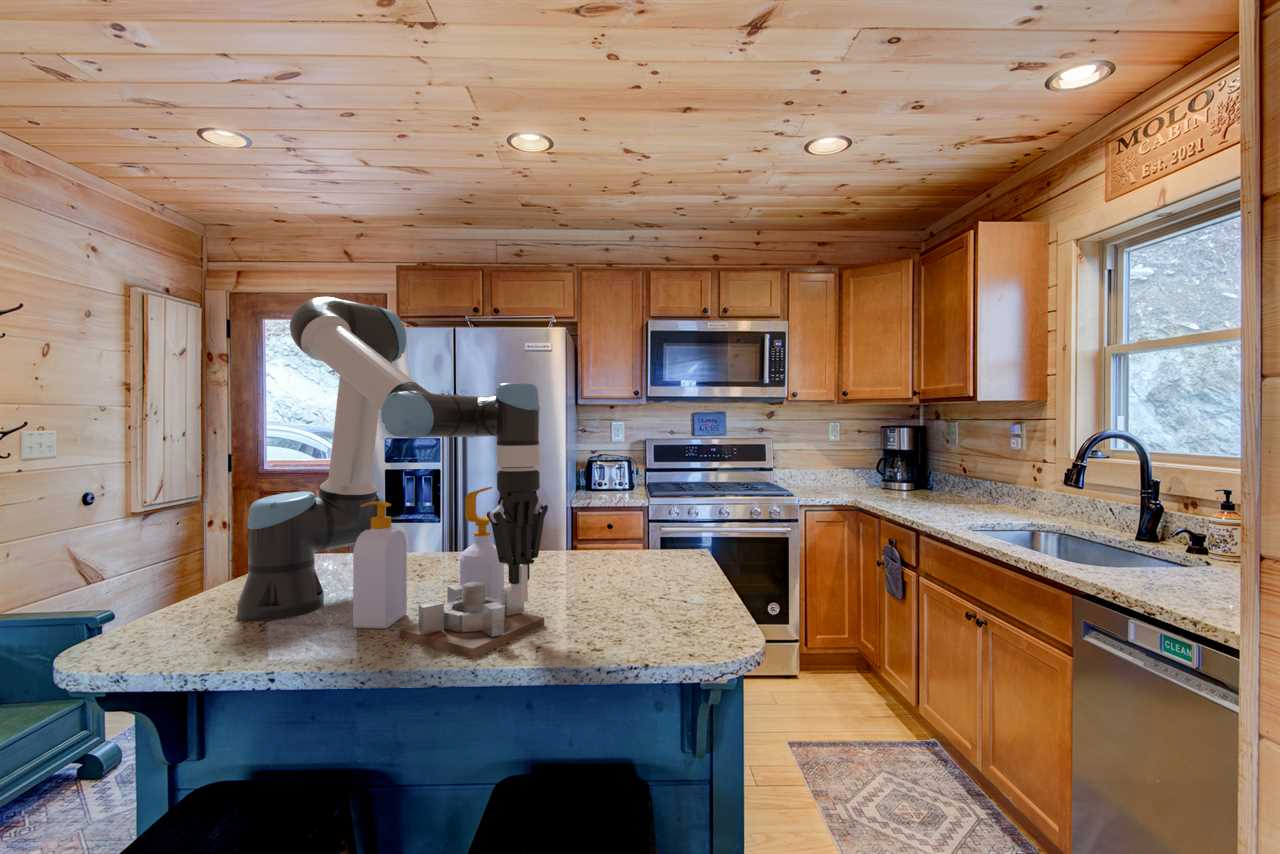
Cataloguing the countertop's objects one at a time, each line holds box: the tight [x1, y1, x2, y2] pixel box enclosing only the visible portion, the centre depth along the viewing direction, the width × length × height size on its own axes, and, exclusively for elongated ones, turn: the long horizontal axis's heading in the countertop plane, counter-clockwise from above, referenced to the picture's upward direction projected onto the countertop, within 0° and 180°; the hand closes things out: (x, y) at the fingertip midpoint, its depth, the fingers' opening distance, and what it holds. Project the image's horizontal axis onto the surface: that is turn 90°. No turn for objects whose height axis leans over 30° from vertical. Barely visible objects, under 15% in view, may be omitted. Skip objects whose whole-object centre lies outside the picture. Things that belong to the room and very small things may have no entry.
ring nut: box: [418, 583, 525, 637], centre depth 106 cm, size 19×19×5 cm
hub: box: [398, 582, 545, 659], centre depth 106 cm, size 18×18×8 cm
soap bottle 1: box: [352, 501, 408, 629], centre depth 112 cm, size 9×7×23 cm
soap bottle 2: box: [459, 486, 505, 599], centre depth 125 cm, size 9×9×25 cm
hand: (519, 600), depth 105 cm, fingers closed
